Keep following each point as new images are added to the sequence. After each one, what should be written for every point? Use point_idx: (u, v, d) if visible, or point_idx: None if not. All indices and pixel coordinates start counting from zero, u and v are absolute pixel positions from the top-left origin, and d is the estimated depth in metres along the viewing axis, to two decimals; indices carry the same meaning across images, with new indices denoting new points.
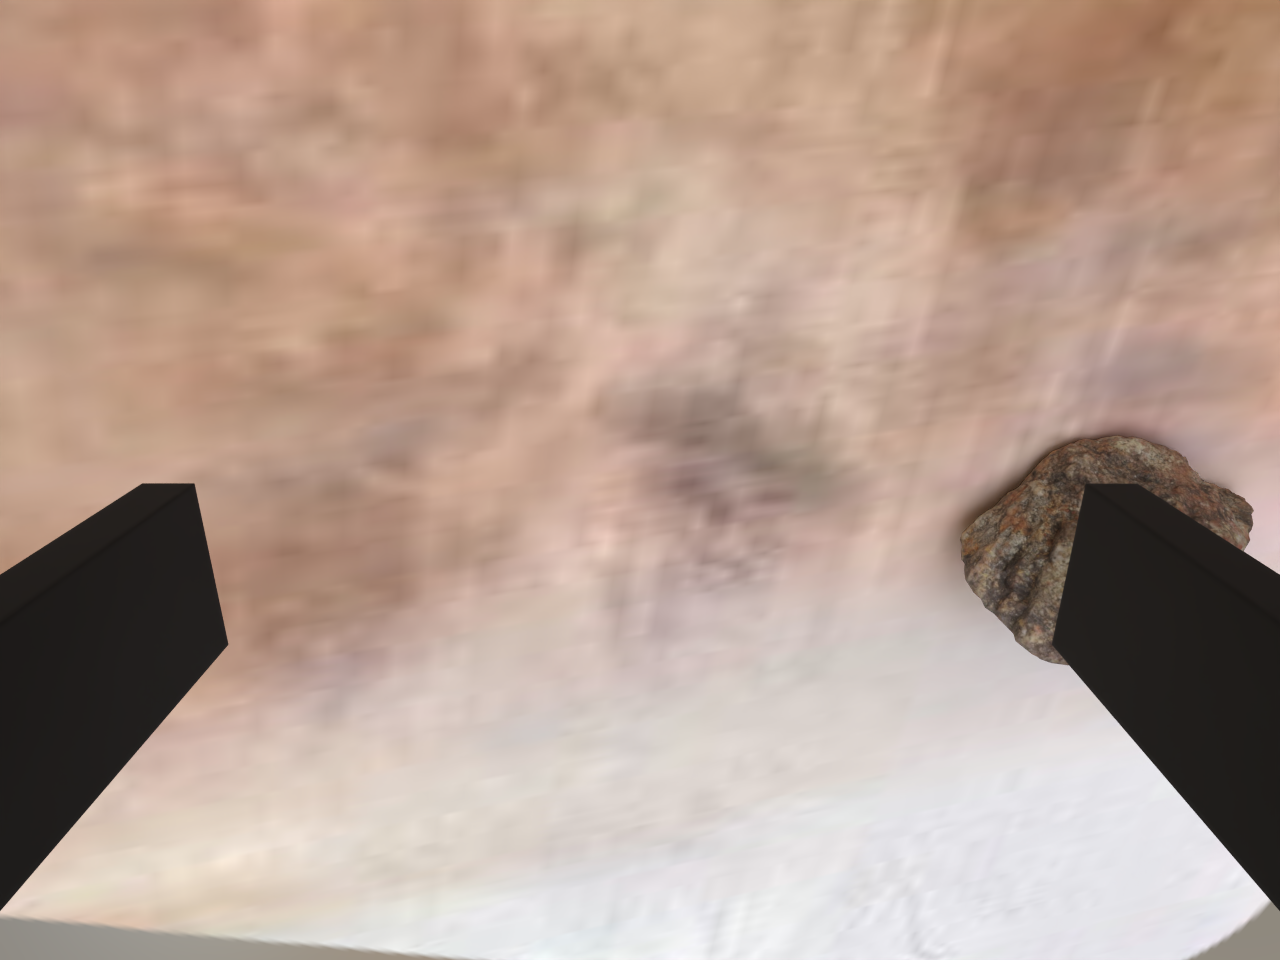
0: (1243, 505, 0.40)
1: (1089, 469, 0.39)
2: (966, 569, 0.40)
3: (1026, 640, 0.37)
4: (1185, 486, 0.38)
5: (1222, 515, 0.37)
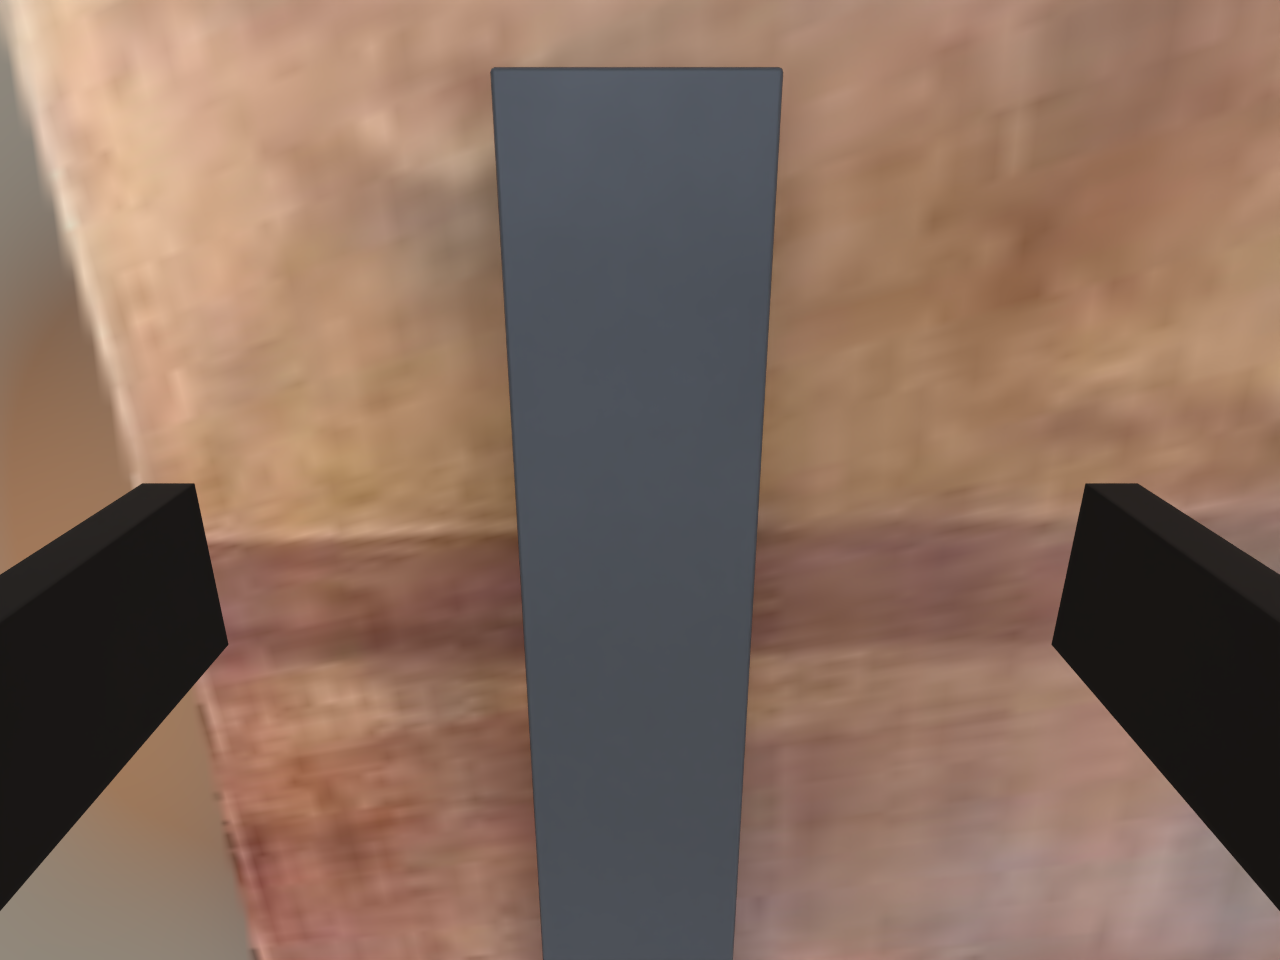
0: None
1: None
2: None
3: None
4: None
5: None
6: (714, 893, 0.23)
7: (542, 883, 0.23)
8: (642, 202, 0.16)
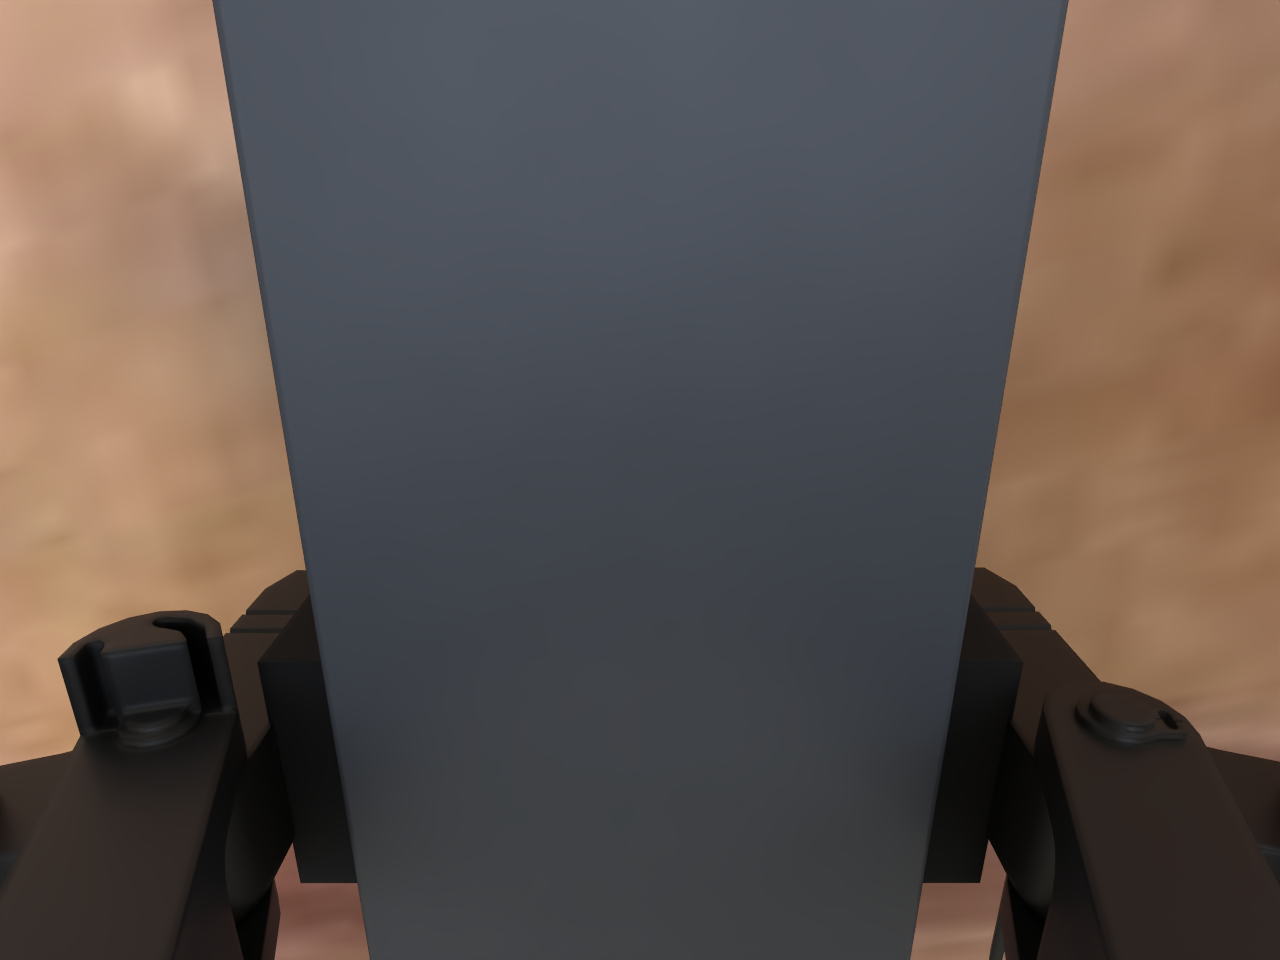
0: None
1: None
2: None
3: None
4: None
5: None
6: None
7: None
8: (655, 272, 0.06)
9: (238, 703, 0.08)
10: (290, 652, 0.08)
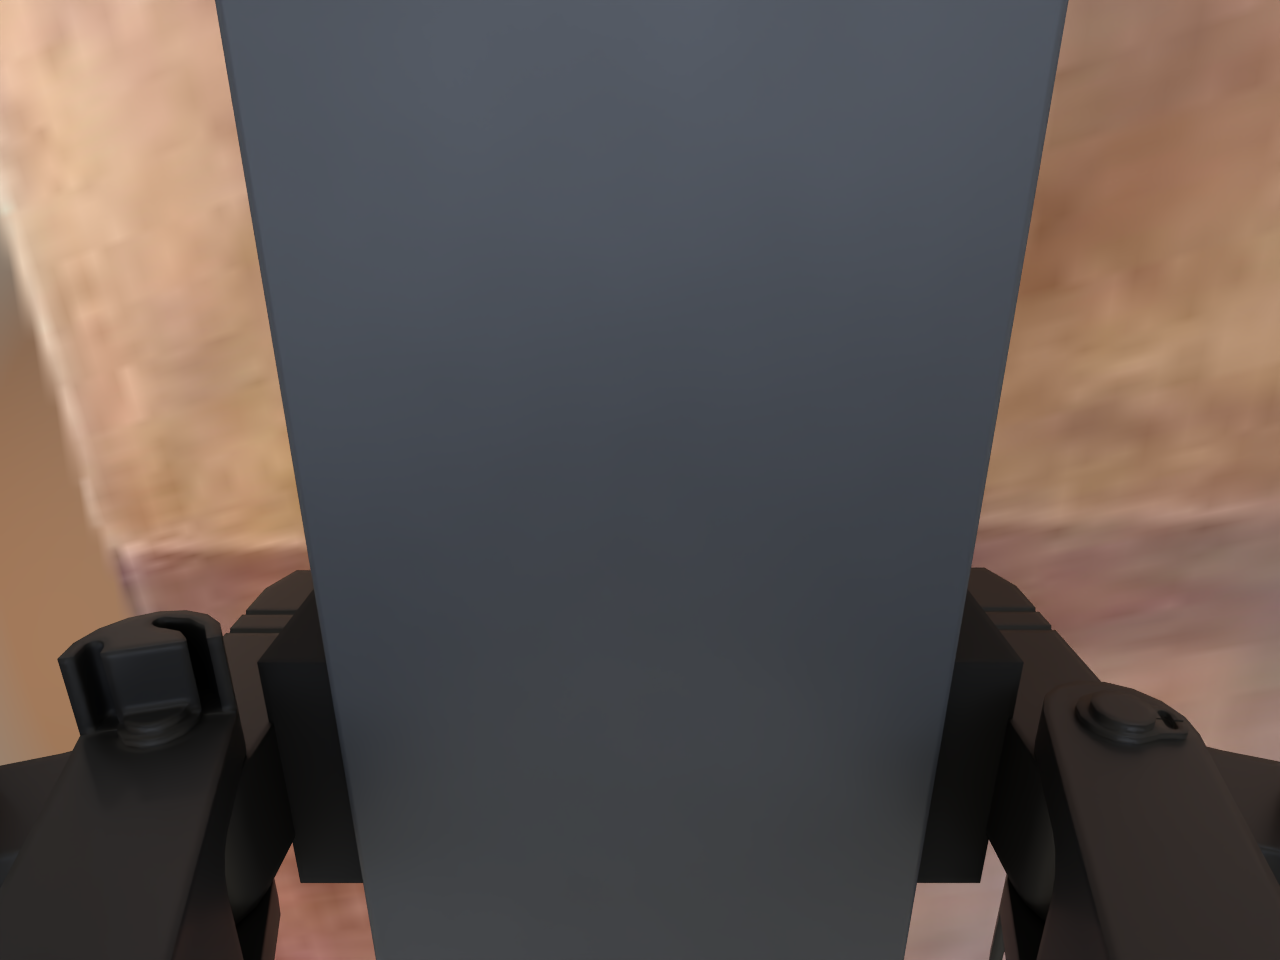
0: None
1: None
2: None
3: None
4: None
5: None
6: None
7: None
8: (655, 275, 0.06)
9: (238, 703, 0.08)
10: (289, 652, 0.08)
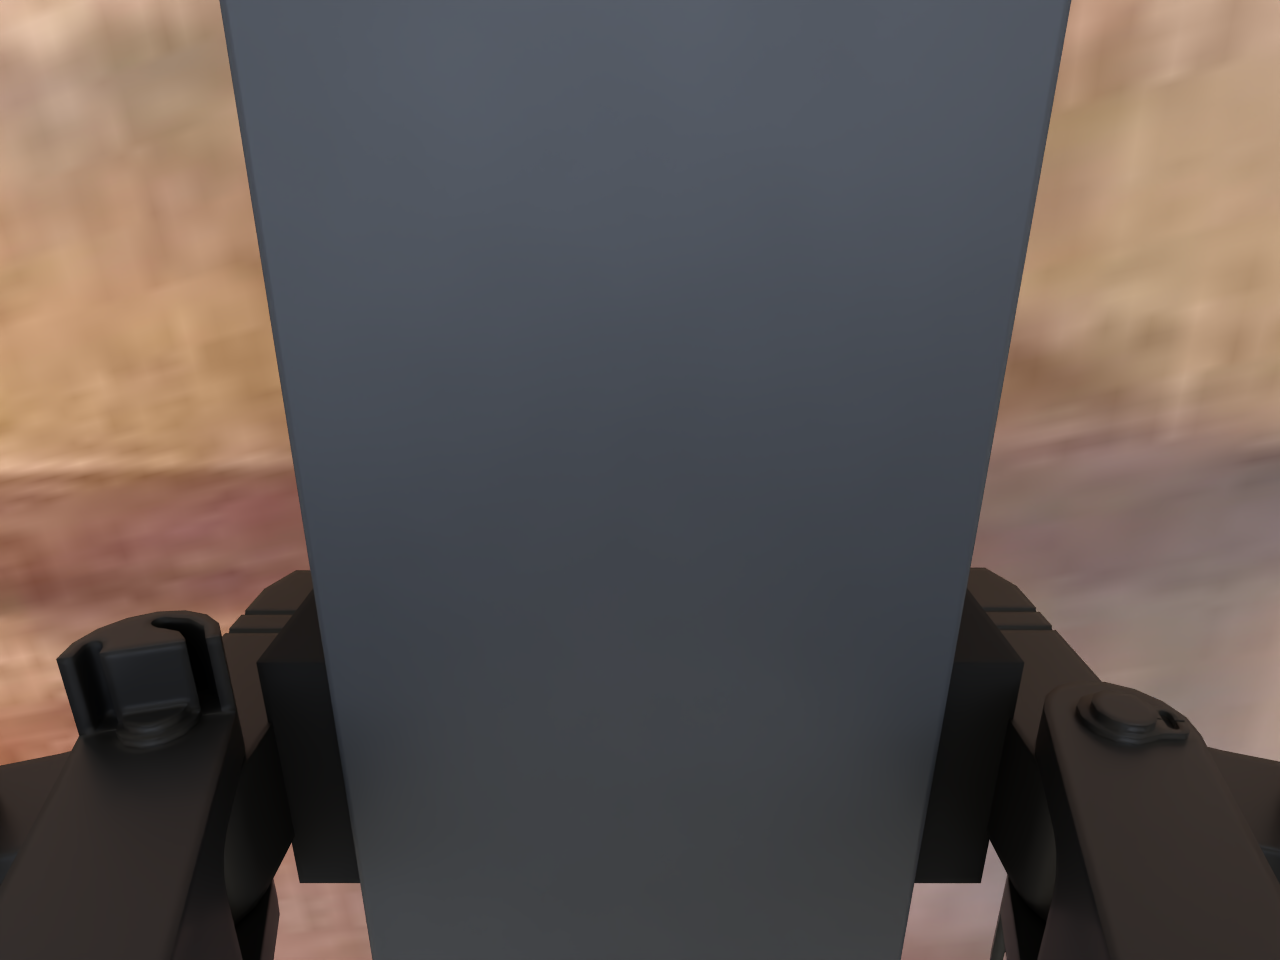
0: None
1: None
2: None
3: None
4: None
5: None
6: None
7: None
8: (657, 272, 0.06)
9: (237, 703, 0.08)
10: (289, 652, 0.08)
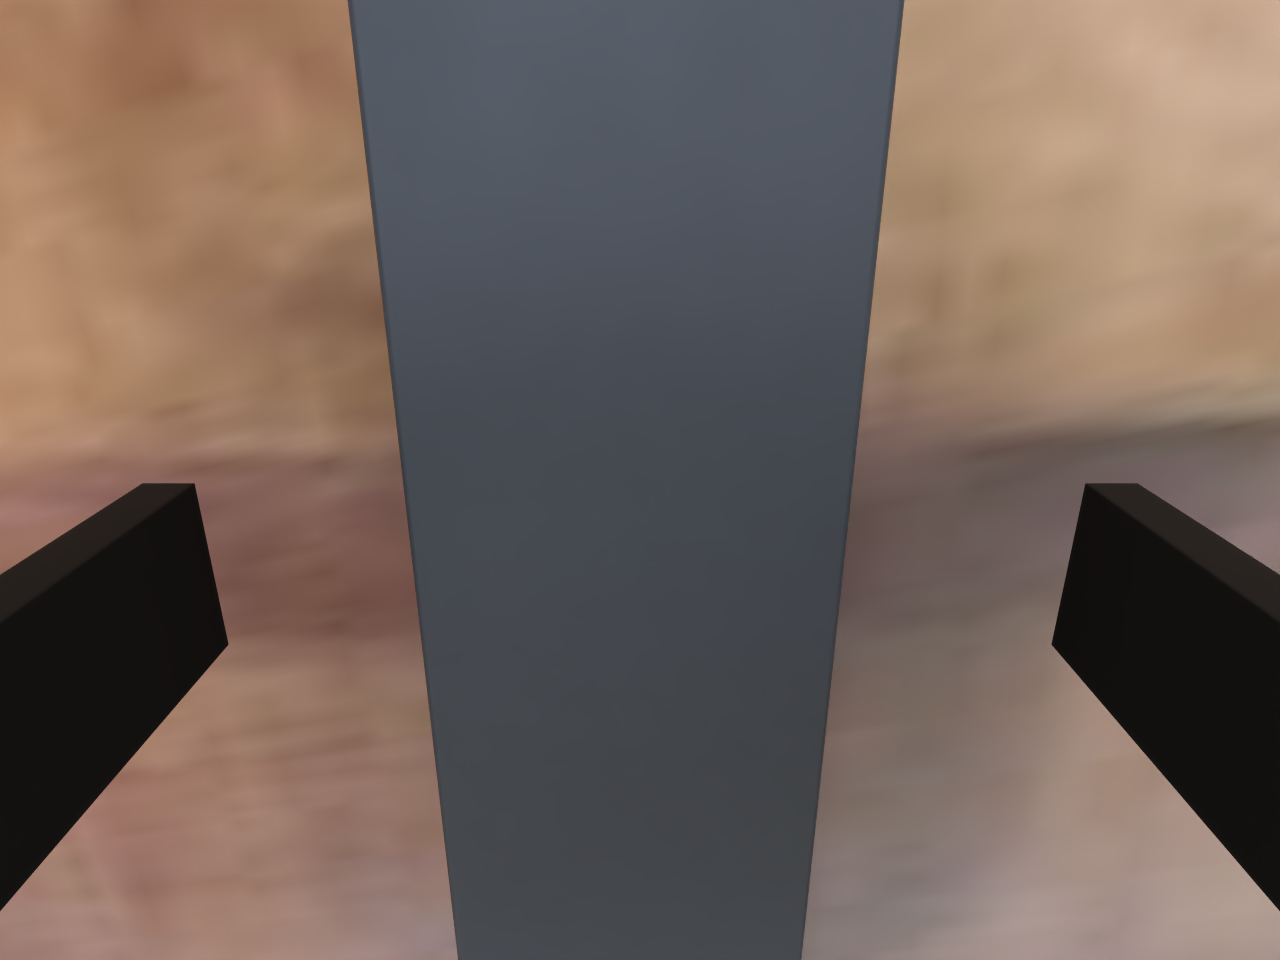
0: None
1: None
2: None
3: None
4: None
5: None
6: None
7: None
8: (637, 233, 0.09)
9: None
10: None
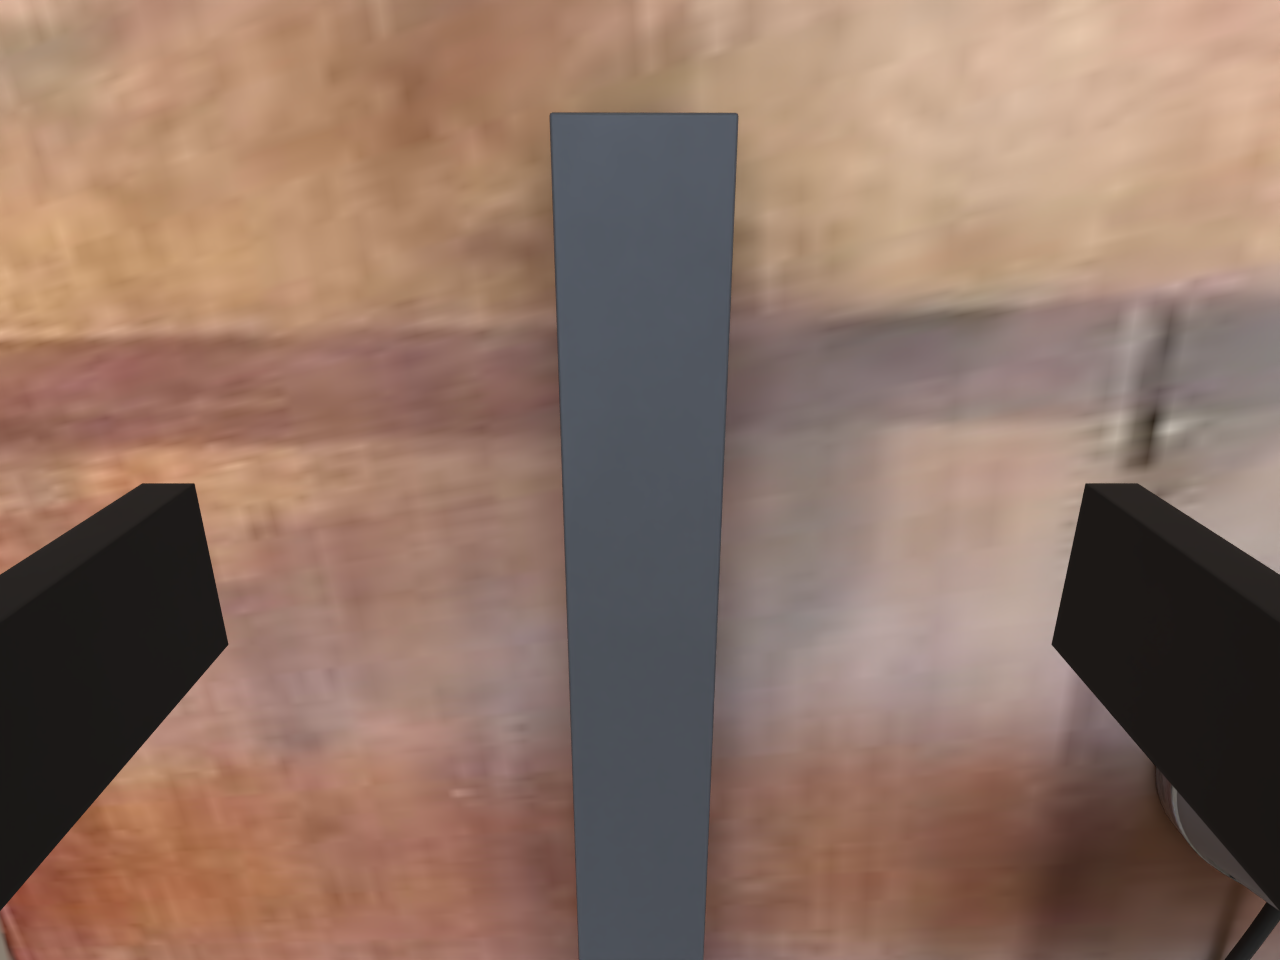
0: None
1: None
2: None
3: None
4: None
5: None
6: (698, 703, 0.32)
7: (572, 695, 0.32)
8: (647, 200, 0.25)
9: None
10: None
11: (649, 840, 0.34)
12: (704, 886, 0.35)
